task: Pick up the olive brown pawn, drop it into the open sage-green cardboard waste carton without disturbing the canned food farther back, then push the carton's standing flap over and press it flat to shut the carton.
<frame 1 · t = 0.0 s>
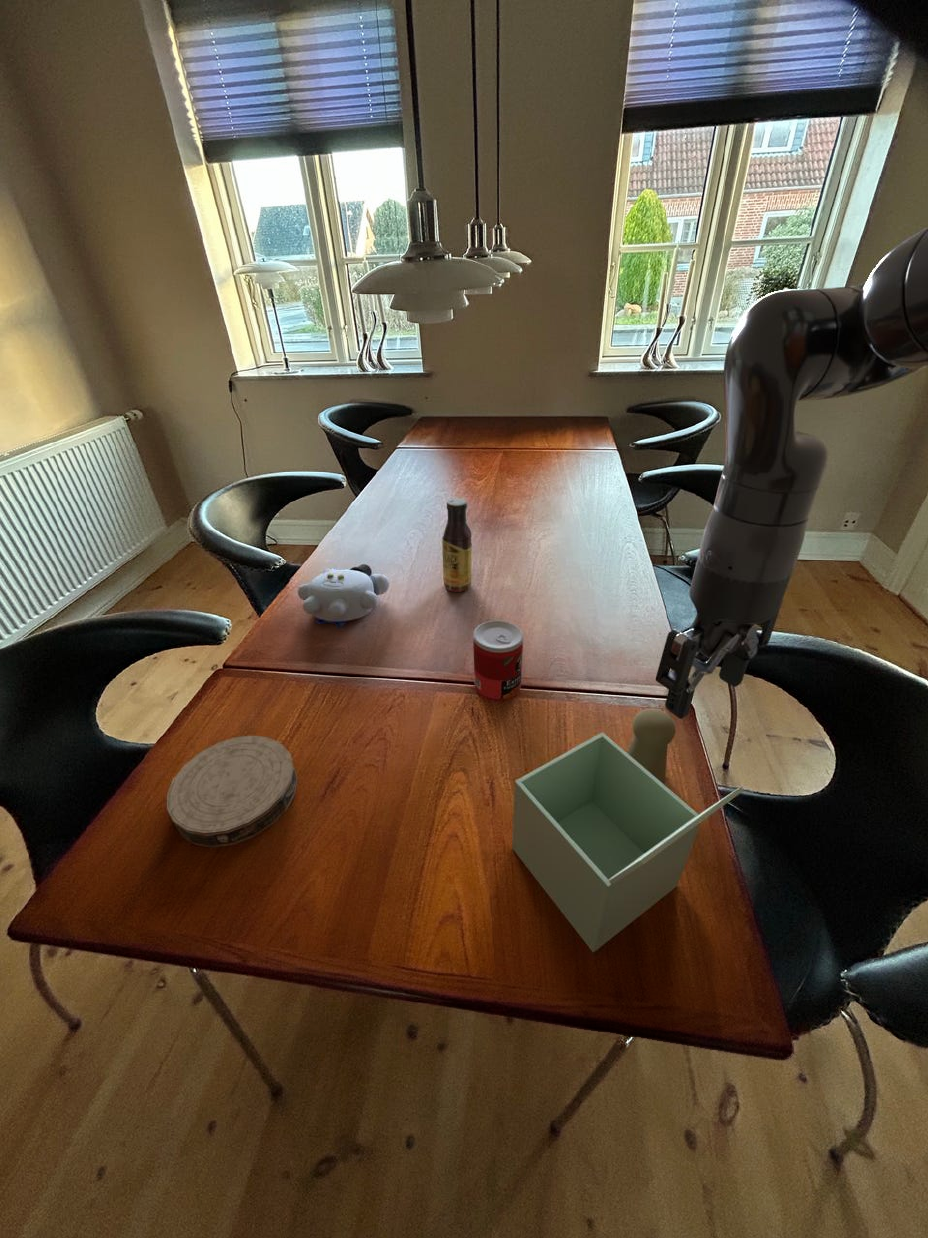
hand: (703, 696, 55), 21 cm above the table, tool pointing down, fingers open, 8 cm apart
canned food: (497, 688, 89), on the table
grey flat disc: (237, 795, 72), on the table
carton: (592, 866, 62), on the table
sauce bottle: (458, 587, 117), on the table
olive brown pawn: (641, 776, 73), on the table
flap: (676, 835, 47), point 16 cm above the table, hinge at 110.0°
figurine: (347, 606, 112), on the table
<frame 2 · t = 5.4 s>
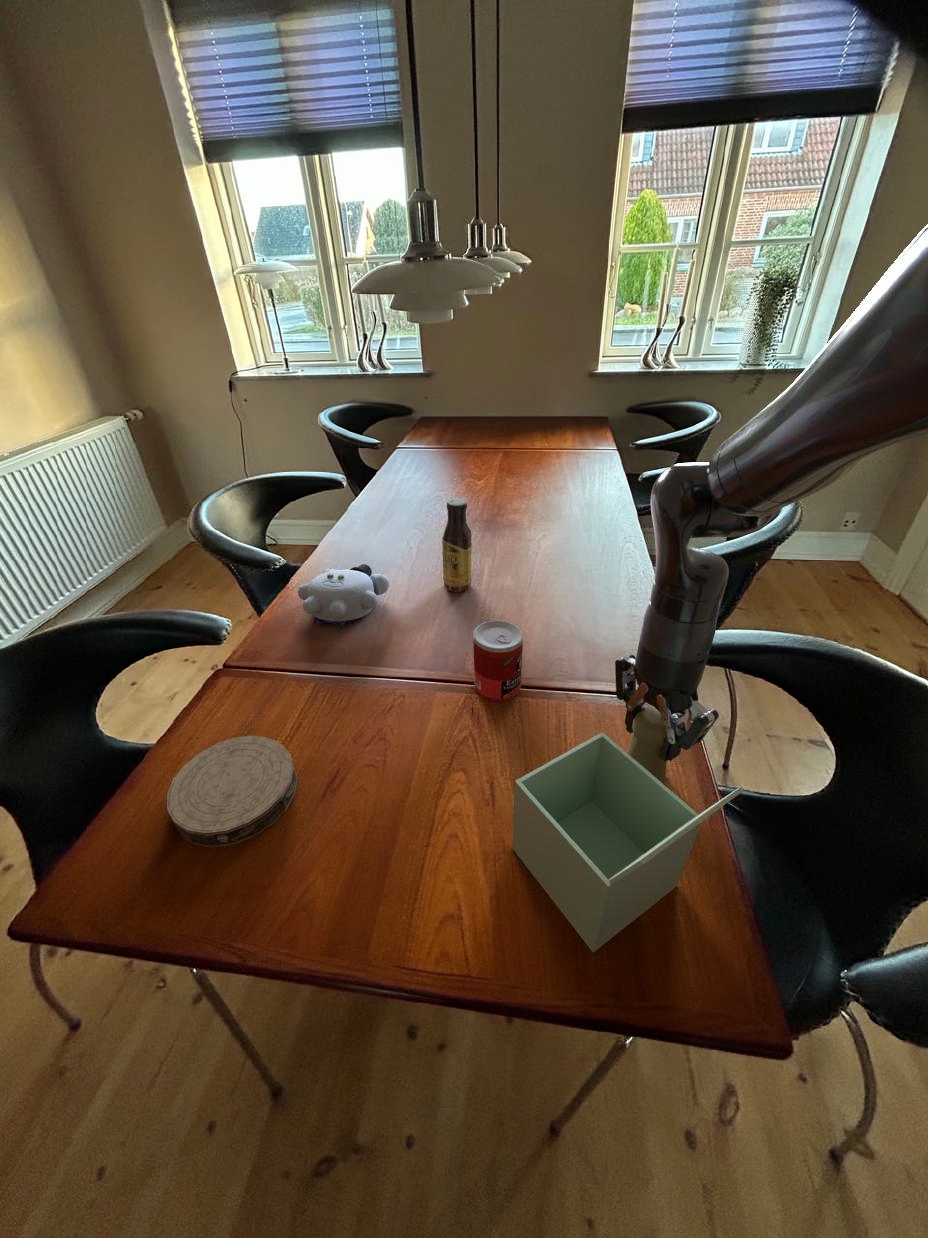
hand: (650, 742, 69), 6 cm above the table, tool pointing down, fingers closed on olive brown pawn, 5 cm apart
olive brown pawn: (641, 776, 73), on the table, touching gripper
everything else where it was.
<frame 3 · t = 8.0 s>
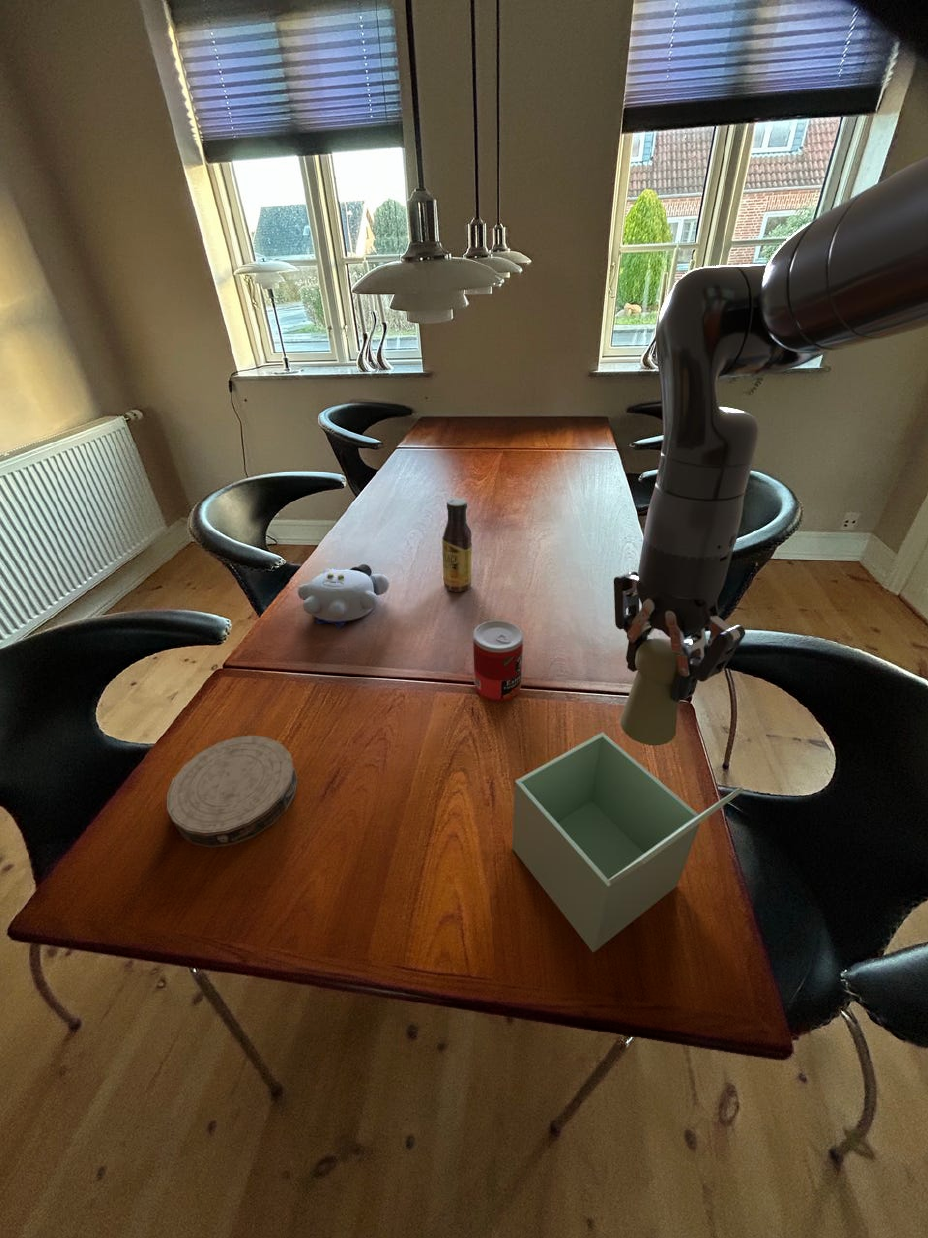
hand: (657, 681, 56), 22 cm above the table, tool pointing down, fingers closed on olive brown pawn, 5 cm apart
olive brown pawn: (647, 726, 60), point 15 cm above the table, touching gripper
everything else where it was.
when the fingers open (18 cm above the table, at t = 10.7 s): olive brown pawn drops 11 cm, resting on carton.
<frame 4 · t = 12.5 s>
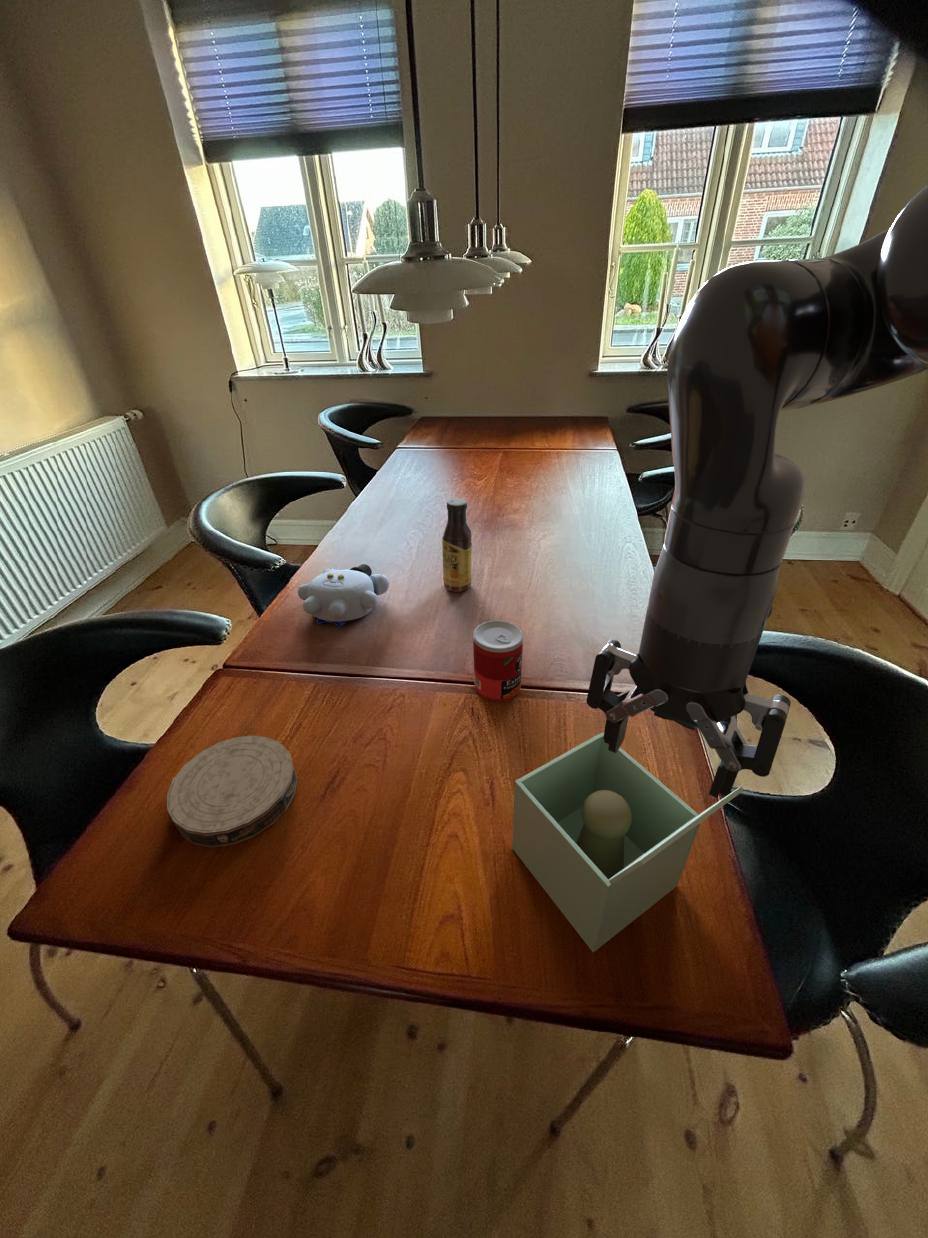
hand: (663, 767, 45), 23 cm above the table, tool pointing down, fingers open, 8 cm apart
olive brown pawn: (596, 864, 62), resting on carton
everything else where it was.
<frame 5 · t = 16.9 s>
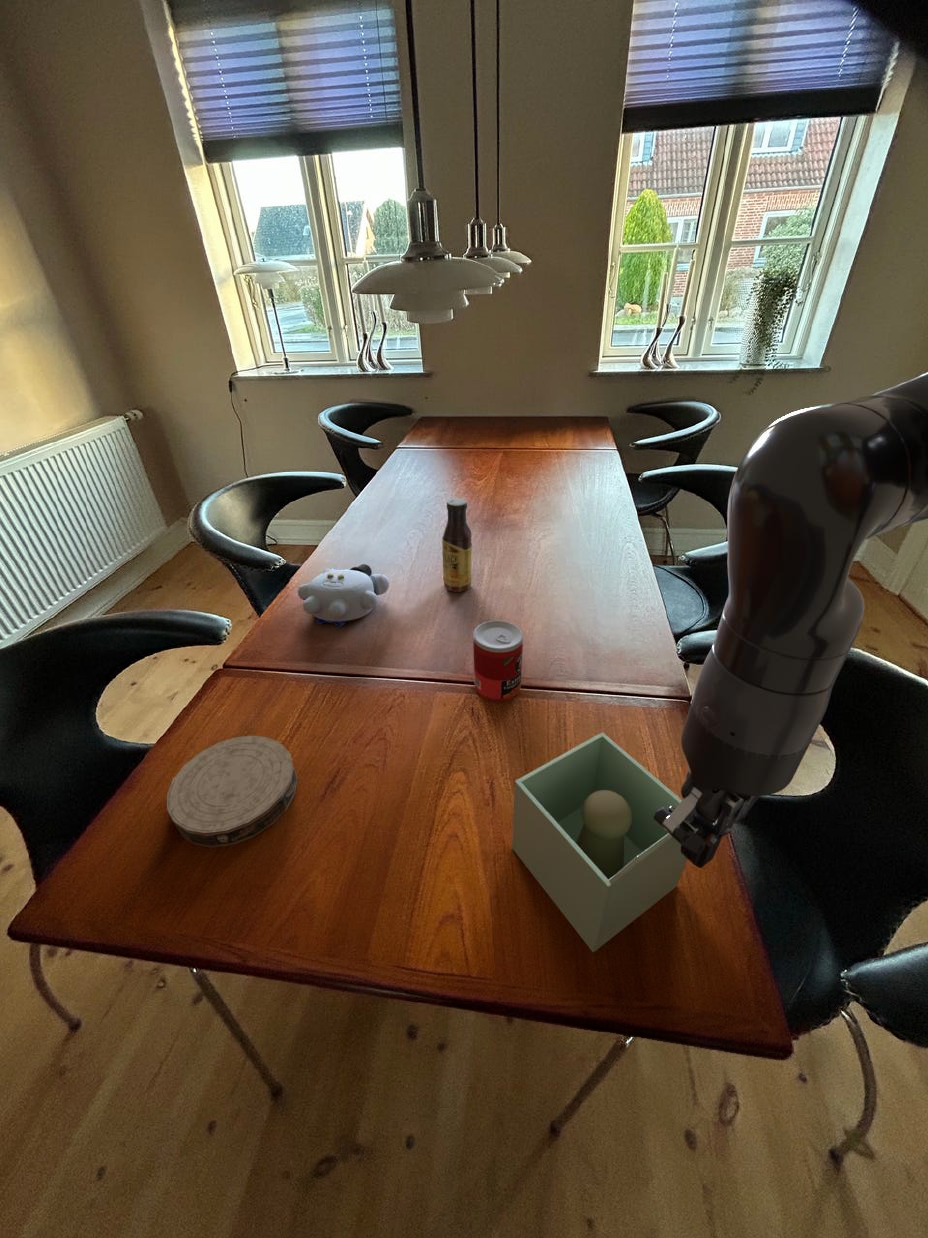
hand: (695, 855, 46), 16 cm above the table, tool pointing down, fingers closed
flap: (675, 833, 47), point 16 cm above the table, hinge at 107.2°, touching gripper
everything else where it was.
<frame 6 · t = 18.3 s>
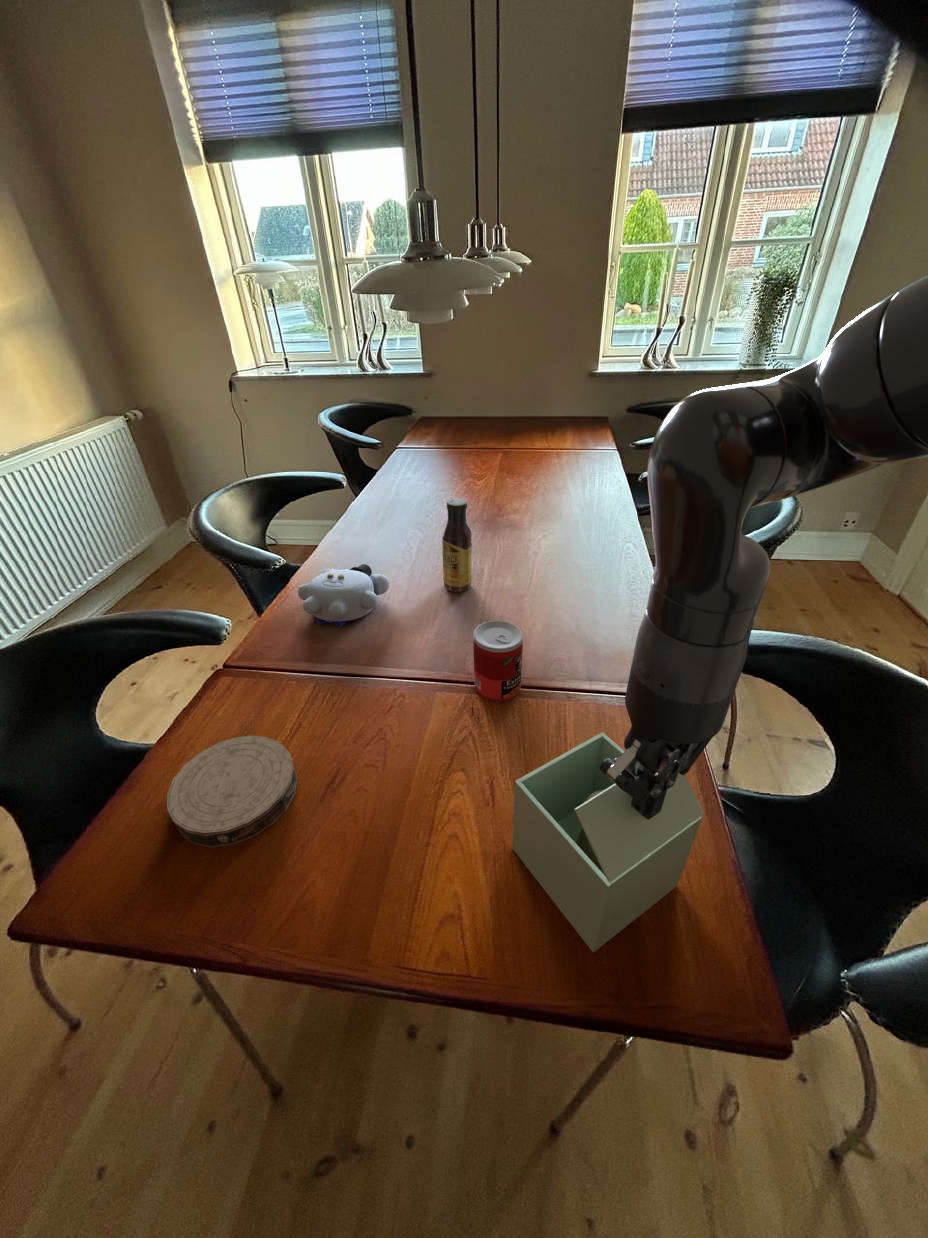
hand: (645, 809, 50), 16 cm above the table, tool pointing down, fingers closed
flap: (642, 811, 50), point 15 cm above the table, hinge at 42.2°, touching gripper
everything else where it was.
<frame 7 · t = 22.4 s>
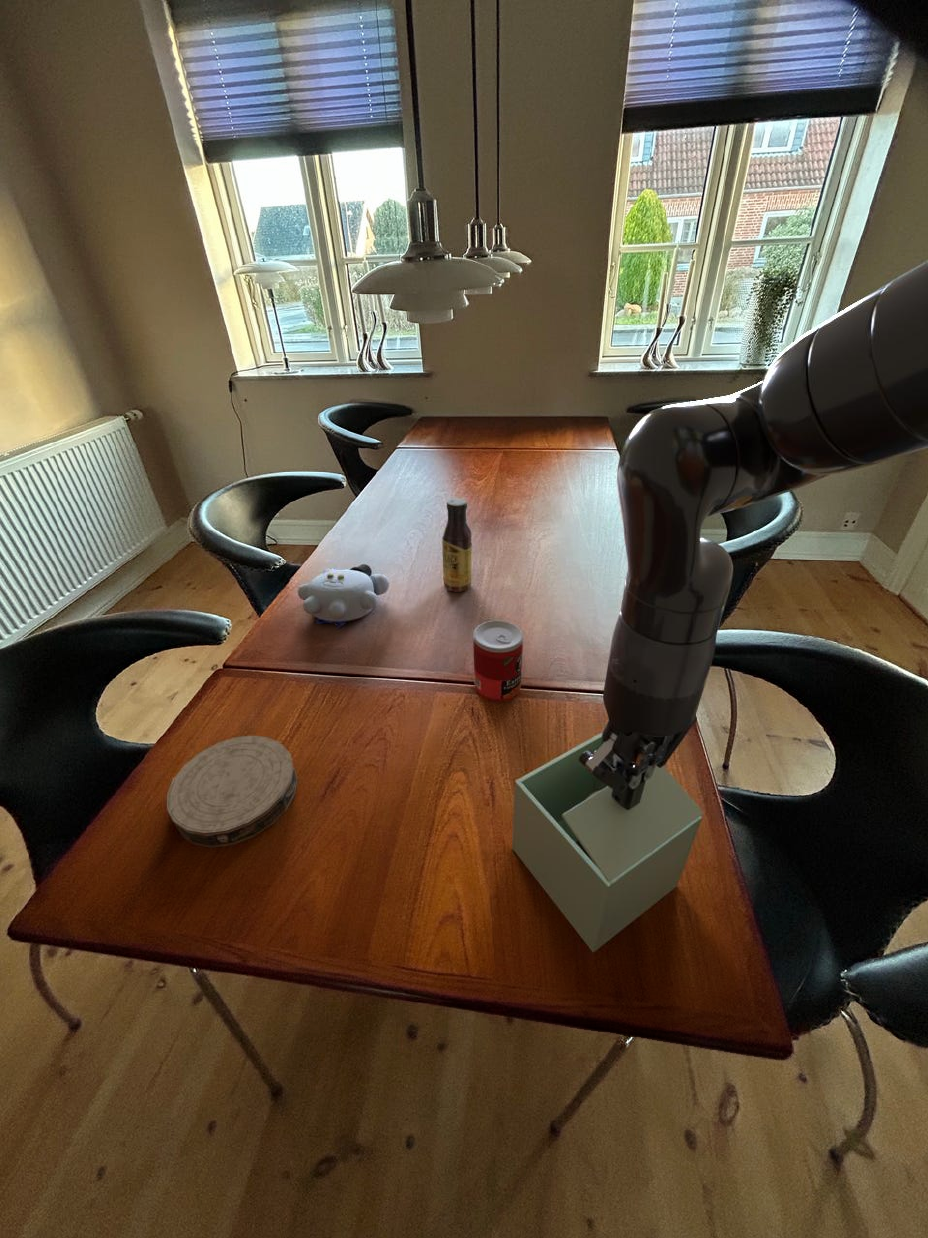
hand: (625, 800, 52), 15 cm above the table, tool pointing down, fingers closed
flap: (633, 814, 52), point 14 cm above the table, hinge at 17.1°, touching gripper
everything else where it was.
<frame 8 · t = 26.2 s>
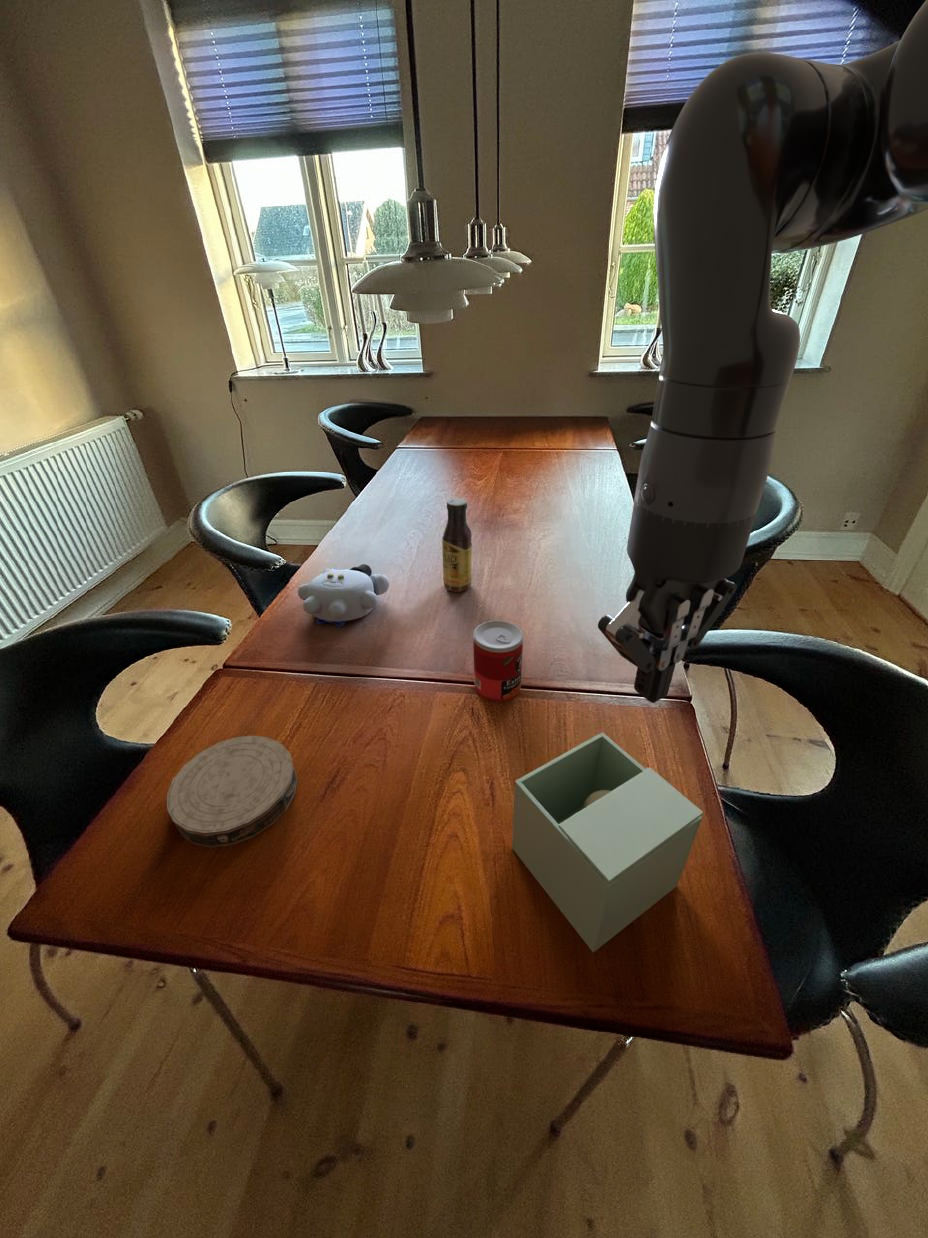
hand: (650, 693, 44), 29 cm above the table, tool pointing down, fingers closed
flap: (631, 819, 52), point 13 cm above the table, hinge at 0.0°
everything else where it was.
at the end: olive brown pawn inside the target area in the carton (0.5 cm from its centre), point 0.3 cm above the carton's base; flap at +0° (first picture: +110°); canned food moved 0.2 cm from its start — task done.
